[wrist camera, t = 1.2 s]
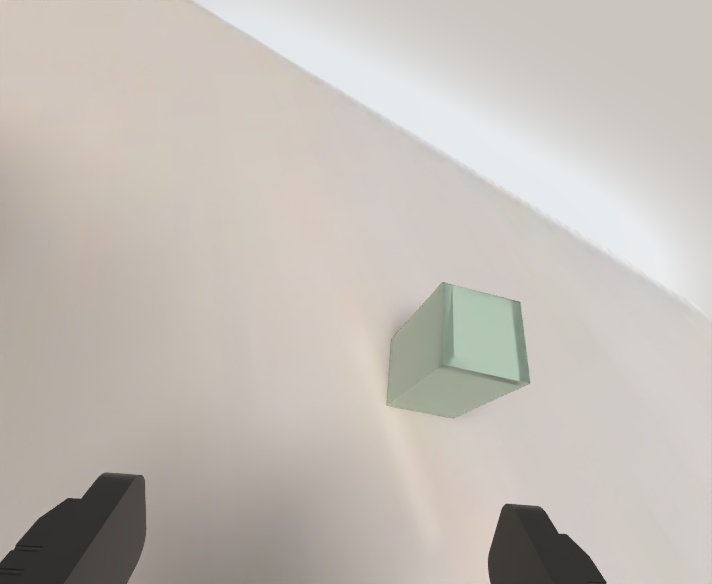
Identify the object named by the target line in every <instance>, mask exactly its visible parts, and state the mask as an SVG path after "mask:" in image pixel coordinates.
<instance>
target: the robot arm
mask: <svg viewBox="0 0 712 584" xmlns="http://www.w3.org/2000/svg"><path fill="white" fill-rule="evenodd" d="M145 536H146V505H145V480H144V477H143V476H142V475H133V474H119V473H103V474H102V475H100V476H99V477H98V478H97V480H96V481H95V482H94V483H93V485H92V486H91V487H90V488H89V490H88V491H87V492H86V493H85V495H84V496H83V497H82V498H81V499H74V498H67V499H66V500H65V501H63V502H62V503H60V504H59V505H57V506H56V507H55V508H53V509H52V510H50V511H49V512H48V513H46V514H45V515H43V516H42V517H40V518H39V519H38V520H37V521H36V522H35V523H34V525H33V526H32V527H31V528H30V529H29V530H28V531H27V533H26V534H25V535H24V536H23V537H22V538H21V539H20V541H19V542H18V543H17V544H16V547H15V549H14V550H11V551H10V552H9V553H8V554H7V555H6V557H5V558H4V559H3V560H2V561H1V562H0V584H127V582H128V580H129V578H130V576H131V574H132V572H133V571H134V569H135V567H136V565H137V563H138V560H139V558H140V555H141V552H142V549H143V546H144V541H145ZM488 571H489V578H490V582H491V584H606V581H605V579H604V578H603V576H602V575H601V573H600V572H599V570H598V569H597V567H596V566H595V564H594V563H593V561H592V560H591V558H590V557H589V556H588V555H587V554H586V553H585V552H584V551H583V550H582V549H581V548H580V547H579V546H578V545H577V544H576V543H575V542H574V541H573V540H572V539H571V538H570V537H569V536H568V535H567V534H559V533H558V532H557V530H556V528H555V527H554V525H553V523H552V522H551V520H550V519H549V517H548V515H547V514H546V512H545V511H544V510H543V509H542V508H541V507H539V506H530V505H517V504H505V505H504V506H503V508H502V510H501V513H500V517H499V520H498V524H497V527H496V531H495V534H494V538H493V541H492V545H491V548H490V552H489V557H488Z"/></svg>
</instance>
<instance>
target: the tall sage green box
mask: <svg viewBox="0 0 712 584" xmlns="http://www.w3.org/2000/svg"><path fill="white" fill-rule="evenodd" d="M528 384H530V377H529V369H528V361H527V353H526V345H525V336H524V328H523V320H522V312H521V304H520V302H519V301H515V300H511V299H507V298H503V297H499V296H495V295H491V294H487V293H483V292H480V291H476V290H472V289H468V288H464V287H460V286H456V285H452V284H448V283H444V282H442V283H441V284H440V285H439V287H438V288H437V289H436V290H435V291H434V292H433V293H432V294H431V296H430V297H429V298H428V299H427V300H426V301H425V302H424V303H423V304H422V306H421V307H420V308H419V309H418V310H417V311H416V312H415V313H414V315H413V316H412V317H411V318H410V319H409V320H408V321H407V322H406V323H405V325H404V326H403V327H402V328H401V329H400V330H399V331H398V332H397V334H396V335H395V336H394V337H393V338H392V339H391V351H390V365H389V379H388V393H387V406H392V407H397V408H402V409H408V410H413V411H418V412H423V413H428V414H434V415H439V416H444V417H449V418H455V417H457V416H460V415H462V414H464V413H466V412H468V411H471V410H473V409H475V408H477V407H479V406H482V405H484V404H486V403H488V402H491V401H493V400H495V399H497V398H499V397H502V396H504V395H506V394H508V393H510V392H513V391H515V390H517V389H519V388H521V387H524V386H526V385H528Z"/></svg>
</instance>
